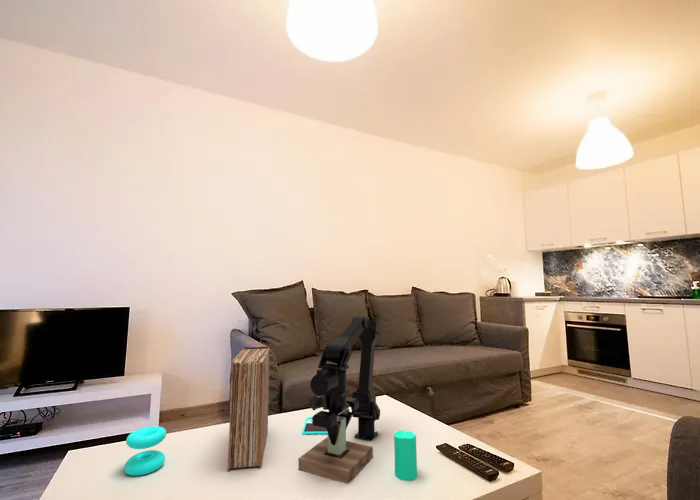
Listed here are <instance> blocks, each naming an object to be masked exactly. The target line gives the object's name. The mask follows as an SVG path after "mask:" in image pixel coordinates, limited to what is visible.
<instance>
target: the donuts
mask: <svg viewBox="0 0 700 500" xmlns="http://www.w3.org/2000/svg"><path fill="white" fill-rule="evenodd" d="M166 437H167V430H166V428H164V427H163V426H158V425H151V426H145V427H142V428H138V429H136V430H134V431H132V432H131V433H129V434H128V435H127V438H126V440H125V442H126V445H127V447H128V448H131V449H132V450H133V449H134V450H144V451H141V452H138V453H136V454H134V455H132V456H130V457H129V458H128V459H127V461H125V463H124V467H123V468H124V472H125V473H126V474H127V475H130V476H143V475H147V474H150V473H151V474H152V473H153V472H155V471H157V470H158V469H160V468H161V467H162V466H163V465H164V463H165V460H166V456H165V454H164V453H163V452H162V451H160V450H156V449H155V450H154V449H151V450H146V449H150V448H153V447H155V446H157V445H159V444H160V443H162V442H163V441H164V440H165V439H166Z"/></svg>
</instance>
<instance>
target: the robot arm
mask: <svg viewBox="0 0 700 500" xmlns="http://www.w3.org/2000/svg"><path fill="white" fill-rule="evenodd" d="M381 333H382V325H381V323H379V320H373V319H370V318H368V317H366V316H354V317H352V319H351V322H350V323H349V325H348V326H347V327H346V328H345V330H344V331H343V332H342V333H341V335H340V336H339V337H338V338H334V339H332V340H331V341H329V342H328V343H327V344H326V346H325V347H324V350H323V351H322V355H321V357H320V361H319V364H318V366H317V368H318V369H317V370H316V374H315V375H313V377H312V378H311V381H310V389H311V391H312V393H313V394H314V395H311V396H309V397H308V403H307V404H308V407H309V408H310V409H312V411H316V410H318V409H322V410H320V411H318V412H316V413H315V414H314V415H313V416H311V417H312V425H314V426H319V427H324V428H326V429H327V432H328V435H329V438H330V441H331V444H332V445H335V444H336V441H337V437H338V434H339V430H340V426H341V422H339V421H338V416H340V417H346V430H347V429H348V426H349V424H350V422H351V419H352V418H356V419H358V420H357V427H358V429H357V431H358V432H357V433H356V434H355V435H354V438H357V439H361V440H366V441H373V440H374V439H375V438H376V437H377V436H378V435H379V432H378V431H375V428H376V427H375V422H376V421H379V420H380V417H381V409H380V407H379V406H378V404H377V396H376V394H375V391H374V390H373V375H374V363H375V349H376V348H375V347H376V344H377V343H378V342H379V341H380V339H381V338H380V337H381ZM358 340H359V342H360V344H361V348H360V349H361V350H360V361H359V362H360V363H359V374H358V375H359V376H358V384H357V385H358V386H357V388H356V389H355V391H353V392H352V394H351V397H349V396H348V395H347V394H349V393H350V389H348V388H347V370H348V369H350V367H349V365H348V363H349V361H350V359H351V356H352V355H353V354H352V348H353V346H354V345H355V343H356V341H358ZM349 408H350V409H351V411H350V409H349ZM327 410H328V411H327ZM328 435H327V436H328Z"/></svg>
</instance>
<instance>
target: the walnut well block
mask: <svg viewBox="0 0 700 500" xmlns="http://www.w3.org/2000/svg"><path fill="white" fill-rule="evenodd" d="M373 450H374V447H373V446H372V445H366V444H362V443H357V442H353V441H349V440H348V441H347V440H346V450H345V451H344V452H343V453H342V454H340V455H337V454H333V453H329V452H328V436H326V437H325V438H324V439H323V440H320V442H318V443H317V444H316V445H314V446H313V447H312V448H310V449H309V450H308V451H306V452H305V453H303V454H302V455H301V456H300V457H298V470H299V471H303V472H305V473H310V474H313V475H316V476H320V477H324V478H325V479H326V478H327V479H330V480H334V481H337V482H340V483H345V484H348V485H349V484H350V483H351V482H352V481H353V480H354V479H355V478H356V477H357V475H358V474H359V473H360V472H361V471H362V470H363V469H364V468H365V467H366V466H367V464H368V463H369V462H370V461H371V460H372V459H373V457H374V451H373Z"/></svg>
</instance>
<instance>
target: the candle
mask: <svg viewBox="0 0 700 500" xmlns="http://www.w3.org/2000/svg"><path fill="white" fill-rule="evenodd" d="M393 436H394V437H393V439H394V440H393V441H394V447H393V448H394V450H393V451H394V475H395V477H396V478H398V480H400V481H401V480H402V481H404V482H405V481H406V482H409V481H414V480H416V479H417V477H418V465H417V464H418V459H417V455H418V454H417V435H416V434H415V433H414V432H412V431H411V430H402V429H401V430H400V429H399V430H396V431H395V432H394V433H393Z"/></svg>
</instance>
